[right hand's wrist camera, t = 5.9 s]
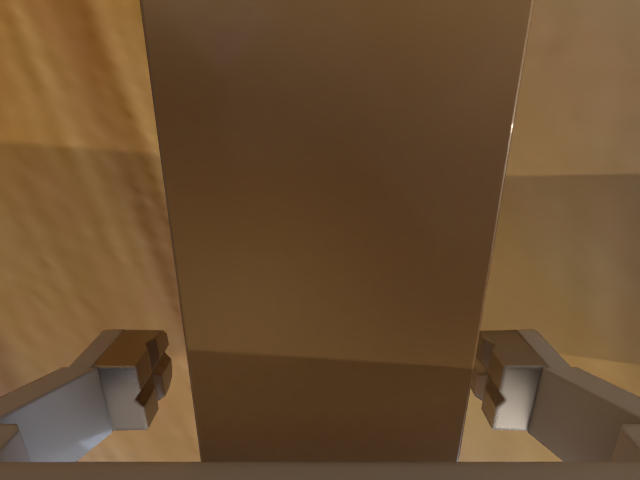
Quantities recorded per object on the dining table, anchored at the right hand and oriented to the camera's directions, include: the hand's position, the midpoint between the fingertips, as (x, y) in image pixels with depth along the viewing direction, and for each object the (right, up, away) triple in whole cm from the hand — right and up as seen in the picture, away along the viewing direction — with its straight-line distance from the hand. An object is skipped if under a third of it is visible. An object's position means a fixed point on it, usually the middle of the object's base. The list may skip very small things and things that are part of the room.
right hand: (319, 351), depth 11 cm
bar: (0, +11, +2) cm, 11 cm away
